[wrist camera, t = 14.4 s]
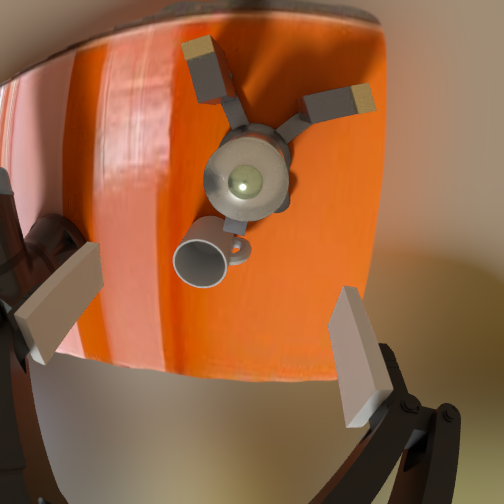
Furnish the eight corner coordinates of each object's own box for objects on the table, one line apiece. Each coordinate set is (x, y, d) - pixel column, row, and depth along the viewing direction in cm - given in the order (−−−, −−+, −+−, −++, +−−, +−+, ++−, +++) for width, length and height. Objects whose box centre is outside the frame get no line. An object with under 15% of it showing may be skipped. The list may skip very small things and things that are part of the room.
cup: (187, 214, 44) (169, 238, 36) (253, 214, 43) (249, 240, 35) (191, 256, 47) (176, 286, 39) (253, 257, 47) (249, 290, 39)
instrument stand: (198, 190, 42) (165, 229, 29) (221, 87, 35) (195, 74, 22) (287, 212, 43) (294, 262, 30) (318, 111, 36) (344, 111, 23)
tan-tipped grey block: (301, 121, 37) (313, 125, 26) (294, 99, 35) (303, 94, 25) (349, 110, 35) (377, 111, 25) (342, 88, 34) (369, 81, 24)
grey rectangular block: (239, 99, 36) (227, 94, 25) (216, 105, 36) (196, 103, 26) (227, 54, 33) (210, 33, 22) (204, 60, 33) (179, 43, 23)
